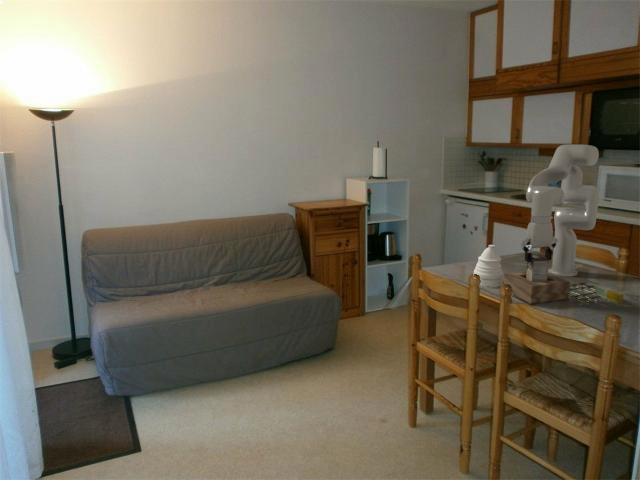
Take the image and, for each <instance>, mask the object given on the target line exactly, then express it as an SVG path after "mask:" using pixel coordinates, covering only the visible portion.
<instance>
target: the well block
mask: <svg viewBox="0 0 640 480" xmlns="http://www.w3.org/2000/svg"><path fill="white" fill-rule="evenodd" d="M526 274H527V271H519V272H511V273H503V285H504V284H509V285H511V287H512V289H513V296H512V297H513V298H515V299H517V300H518V301H521V302H523V303H525V304H527V305H529V306H537V305H544V304H554V303H561V302H568V301H569V300H570V299H569V298H570V291H571V290H570V289H571V281H569V280H567V279H564V278H562V277H560V276H557V275H553V274H550V273H549V272H548V275H547V281H546V282H537V283H535V282H533V281H530V280H528V279H526Z"/></svg>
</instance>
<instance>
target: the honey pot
mask: <svg viewBox="0 0 640 480" xmlns="http://www.w3.org/2000/svg"><path fill="white" fill-rule="evenodd" d="M495 246H496V245H494V244H488V247H486V248H485V249H484V250H483V252H482V253H481V255H479V256H478V261H477V263H476V264H475V265H476V266H474V267H475V268H474V270H473V275H474V274H477V275H479V276H480V280H481V283H480V285H481V286H480V287H482V286H491V287H490V288H494V287H493V286H499V285H501V284H503V285H504V271H503V268H502V265H501V261H502V260H503V259H502V257H500V256H498V253H497V252H496V250H495Z"/></svg>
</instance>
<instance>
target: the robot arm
mask: <svg viewBox="0 0 640 480" xmlns="http://www.w3.org/2000/svg"><path fill="white" fill-rule="evenodd" d="M599 156H600V154H599V150H598V147H596V146H594V145H589V144H569V143H568V144H561V145H560V146H558V147H557V148H556V150H555V151H554V153H553V157H552V158H551V161H550V163H549V166H548V167H547V168H545V169H543V170H541V171H540V172H538V173H537V174H536V175H534V176H533V177H532V179H531V180H530V182H529V184H528V186H527V189H526V193H525V198H526V202H528V203H530V204H531V211H530V212H531V213H530V214H531V215H530V222H528V225H527V229H526V233H525V239H523V240H522V241H520V243H519V244H520V247H521V249H522V250H523V252H524V261H525V262H531V256H532V254H533V253H532V251H533V250H534V249H539V248H545V251H544V256H545V257H546V258H547V259H548V260H549V261H551V260H552V263H551V264H552V266H551V267H550V268H548V273H549V274H552V275H554V276H557V277H566V278H567V277H568V278H569V277H576V276H577V275H578V271H577V269H579V270H580V269H583V267H584V266H583V265H582V264H580V263H579V264H576V262H575V261H576V254H577V253H576V252H577V244H578V243H577V241H578V239H577V234H576V233H575V232H574V230H579V231H580V230H583V231H591V230H593V229H594V228H595V226H596V222H597V215H598V206H599V199H600V197H599V196H600V193H599V189H598V187H596V186H595V185H591V184H589V185H588V184H583V177H584V174H583V171H582V169H581V167H579V166H589V167H594V165H596V164H597V162H598V160H599ZM557 182H561V185H560V187H558V186H548V184H553V183H557ZM560 204H565V205H566V206H567V205H568V206H569V205H570V206H579V207H580V206H581V207H585V208H577V207H560V208H557V209H556V210H555V212H554V216H553V215H552V214H553V206H558V205H560ZM552 220H554V221H553V223H554V230H553V223H552ZM553 231H554V232H553Z"/></svg>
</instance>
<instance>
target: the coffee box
mask: <svg viewBox="0 0 640 480" xmlns="http://www.w3.org/2000/svg"><path fill="white" fill-rule="evenodd" d="M526 262H527V261H526ZM549 262H550V260H548V259H547V258H546V257H545V254H544V253H543V254H542V253H541V254H540V253H539V254H536V253H535V254H533V253H532V256H531V262H527V263H526V264H527V265H526V272H527V274H526V279H528V280H530V281H533V282H535V283H537V282H546V281H547V275H548V273H549V272H548V269H549V265H550V264H549Z"/></svg>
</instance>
